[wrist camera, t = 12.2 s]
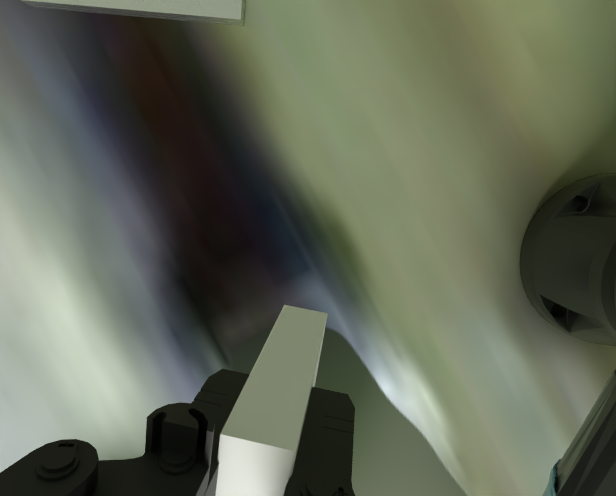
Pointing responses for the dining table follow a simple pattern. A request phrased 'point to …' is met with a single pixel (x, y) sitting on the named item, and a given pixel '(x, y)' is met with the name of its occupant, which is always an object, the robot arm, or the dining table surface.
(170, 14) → the housing
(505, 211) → the dining table surface
